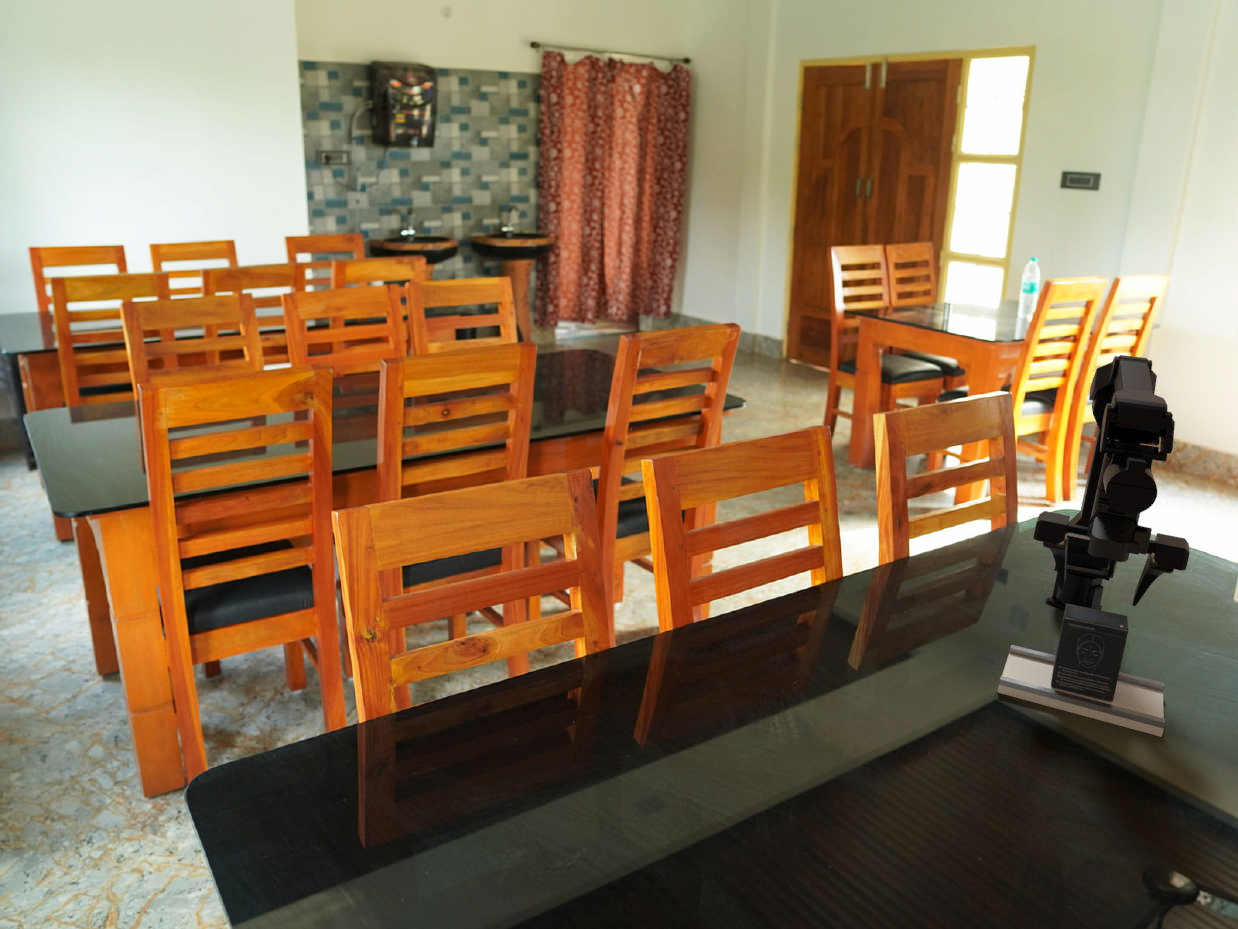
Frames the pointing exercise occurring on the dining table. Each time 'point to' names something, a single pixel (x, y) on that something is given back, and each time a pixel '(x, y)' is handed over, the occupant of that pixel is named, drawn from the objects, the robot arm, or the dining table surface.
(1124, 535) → the robot arm
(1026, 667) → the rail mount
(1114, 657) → the box
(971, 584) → the dining table surface
